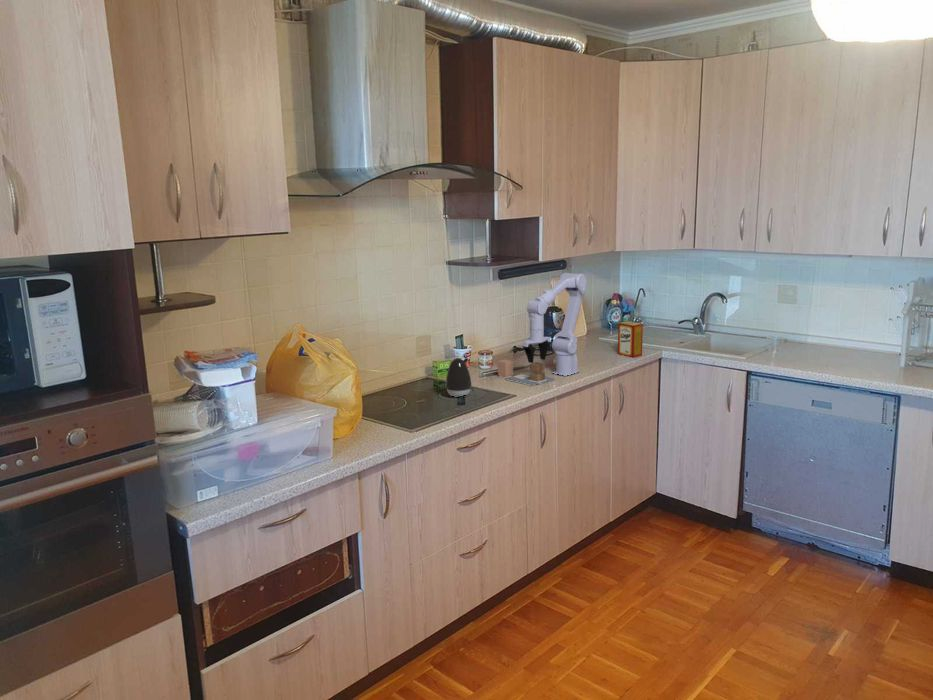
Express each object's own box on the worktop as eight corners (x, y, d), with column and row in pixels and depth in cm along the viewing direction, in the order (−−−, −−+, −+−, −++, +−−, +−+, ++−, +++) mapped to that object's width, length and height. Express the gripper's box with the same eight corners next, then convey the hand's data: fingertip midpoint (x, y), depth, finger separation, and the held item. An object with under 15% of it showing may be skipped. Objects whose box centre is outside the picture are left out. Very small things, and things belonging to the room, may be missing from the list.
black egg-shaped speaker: (477, 395, 280) (476, 357, 277) (458, 400, 273) (457, 362, 270) (459, 390, 287) (458, 354, 284) (440, 396, 280) (439, 358, 277)
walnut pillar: (536, 378, 302) (536, 362, 300) (544, 379, 298) (544, 363, 297) (529, 380, 299) (529, 363, 297) (537, 381, 295) (537, 365, 294)
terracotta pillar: (505, 374, 311) (505, 359, 310) (512, 376, 308) (512, 360, 306) (498, 376, 308) (498, 361, 307) (505, 378, 305) (505, 362, 303)
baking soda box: (641, 355, 341) (642, 323, 337) (632, 357, 337) (633, 324, 334) (627, 352, 348) (627, 320, 345) (617, 354, 345) (618, 322, 341)
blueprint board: (527, 373, 312) (527, 372, 312) (554, 379, 300) (554, 378, 300) (504, 379, 303) (504, 378, 303) (532, 386, 291) (532, 384, 291)
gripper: (541, 325, 301) (541, 356, 304) (517, 330, 292) (518, 362, 295) (553, 327, 296) (553, 359, 299) (530, 332, 287) (530, 365, 290)
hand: (536, 360), depth 297 cm, fingers open, 7 cm apart
